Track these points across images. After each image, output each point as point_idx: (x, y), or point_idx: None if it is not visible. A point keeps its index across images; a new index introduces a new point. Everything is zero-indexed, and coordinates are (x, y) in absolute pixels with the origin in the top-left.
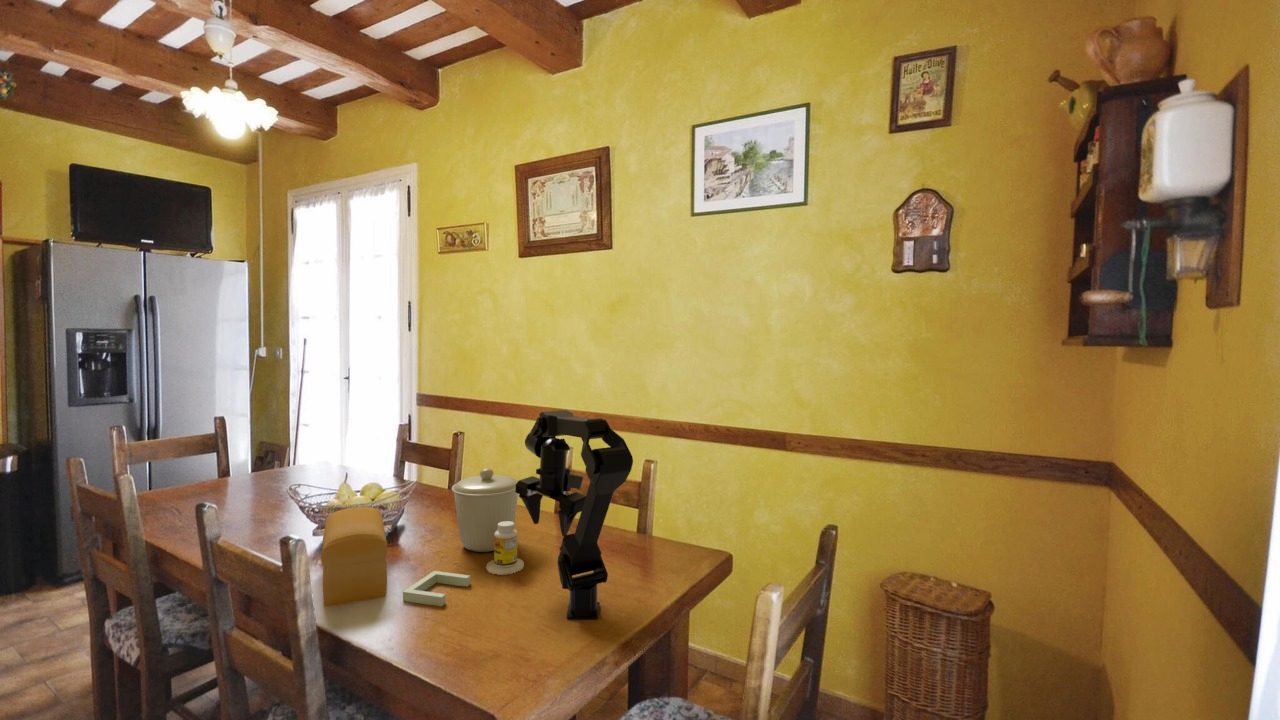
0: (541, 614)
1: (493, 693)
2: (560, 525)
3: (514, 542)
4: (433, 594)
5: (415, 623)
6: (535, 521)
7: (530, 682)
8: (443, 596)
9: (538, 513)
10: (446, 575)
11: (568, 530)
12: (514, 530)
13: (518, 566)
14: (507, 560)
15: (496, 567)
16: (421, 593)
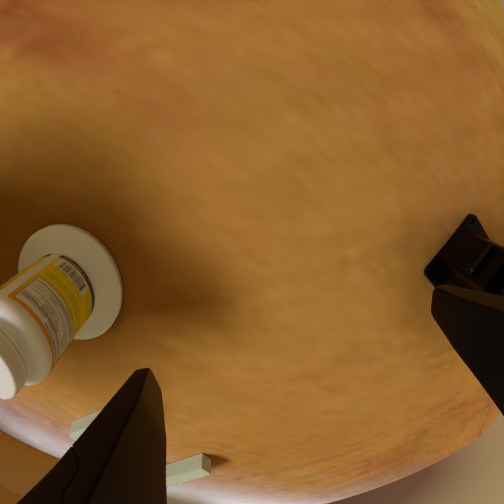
0: (400, 344)
1: (462, 440)
2: (486, 386)
3: (54, 317)
4: (188, 476)
5: (245, 487)
6: (159, 407)
7: (485, 409)
8: (206, 470)
9: (136, 430)
10: None
11: (473, 292)
12: (4, 319)
13: (98, 263)
14: (87, 313)
15: None
16: (171, 483)
